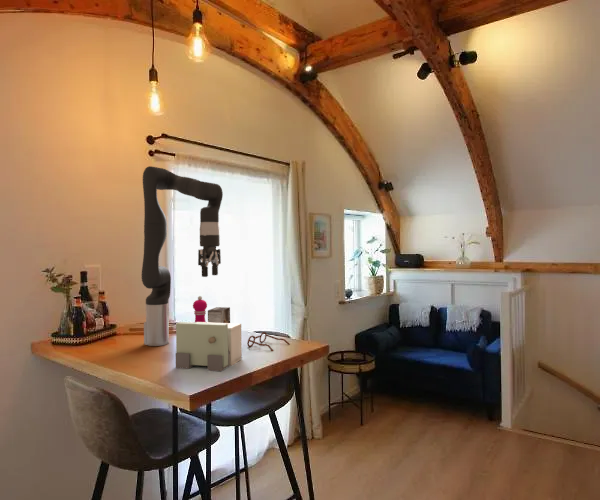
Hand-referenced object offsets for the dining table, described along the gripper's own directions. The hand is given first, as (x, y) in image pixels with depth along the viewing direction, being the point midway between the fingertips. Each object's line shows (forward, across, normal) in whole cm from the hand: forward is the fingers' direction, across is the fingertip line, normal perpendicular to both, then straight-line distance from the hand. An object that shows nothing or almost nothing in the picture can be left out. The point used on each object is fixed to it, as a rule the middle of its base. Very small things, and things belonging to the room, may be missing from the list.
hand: (209, 276), depth 166 cm
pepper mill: (+30, -18, -14) cm, 38 cm away
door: (+29, +18, +6) cm, 35 cm away
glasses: (+31, -17, +18) cm, 40 cm away
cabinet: (+30, +13, +6) cm, 33 cm away
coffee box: (+30, -10, -1) cm, 32 cm away
